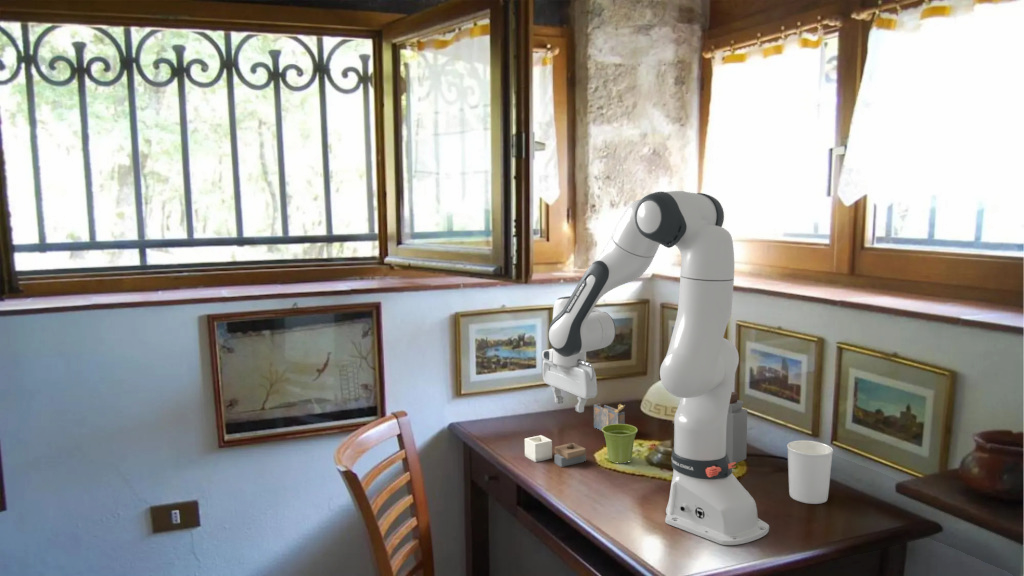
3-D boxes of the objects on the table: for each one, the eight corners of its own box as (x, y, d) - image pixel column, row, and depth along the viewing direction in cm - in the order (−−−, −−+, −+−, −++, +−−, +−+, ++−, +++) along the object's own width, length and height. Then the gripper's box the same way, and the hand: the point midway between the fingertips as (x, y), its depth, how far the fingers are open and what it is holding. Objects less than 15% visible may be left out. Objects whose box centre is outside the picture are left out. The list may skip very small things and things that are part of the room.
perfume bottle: (732, 464, 190) (733, 397, 188) (710, 458, 195) (711, 393, 193) (746, 458, 195) (747, 393, 192) (724, 452, 200) (725, 388, 197)
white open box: (552, 458, 197) (551, 440, 197) (535, 462, 195) (535, 444, 194) (541, 452, 202) (541, 435, 201) (524, 456, 199) (524, 438, 199)
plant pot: (627, 469, 188) (627, 436, 187) (595, 461, 194) (595, 430, 193) (643, 458, 196) (643, 427, 195) (612, 452, 201) (612, 421, 200)
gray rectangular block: (585, 461, 195) (585, 452, 194) (561, 467, 191) (561, 458, 190) (578, 457, 197) (578, 449, 197) (554, 463, 193) (554, 454, 193)
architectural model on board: (625, 436, 216) (625, 404, 214) (617, 438, 214) (617, 406, 213) (601, 427, 225) (601, 396, 224) (593, 428, 224) (593, 398, 222)
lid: (586, 454, 193) (586, 445, 192) (567, 459, 190) (567, 449, 189) (572, 448, 198) (572, 439, 197) (554, 452, 195) (554, 443, 194)
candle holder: (776, 493, 171) (777, 443, 170) (808, 486, 175) (809, 437, 174) (808, 508, 162) (810, 457, 161) (840, 500, 166) (842, 450, 165)
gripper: (603, 362, 183) (602, 415, 185) (557, 348, 201) (557, 396, 203) (583, 365, 180) (582, 419, 182) (538, 350, 198) (538, 400, 199)
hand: (569, 407), depth 192 cm, fingers open, 8 cm apart
